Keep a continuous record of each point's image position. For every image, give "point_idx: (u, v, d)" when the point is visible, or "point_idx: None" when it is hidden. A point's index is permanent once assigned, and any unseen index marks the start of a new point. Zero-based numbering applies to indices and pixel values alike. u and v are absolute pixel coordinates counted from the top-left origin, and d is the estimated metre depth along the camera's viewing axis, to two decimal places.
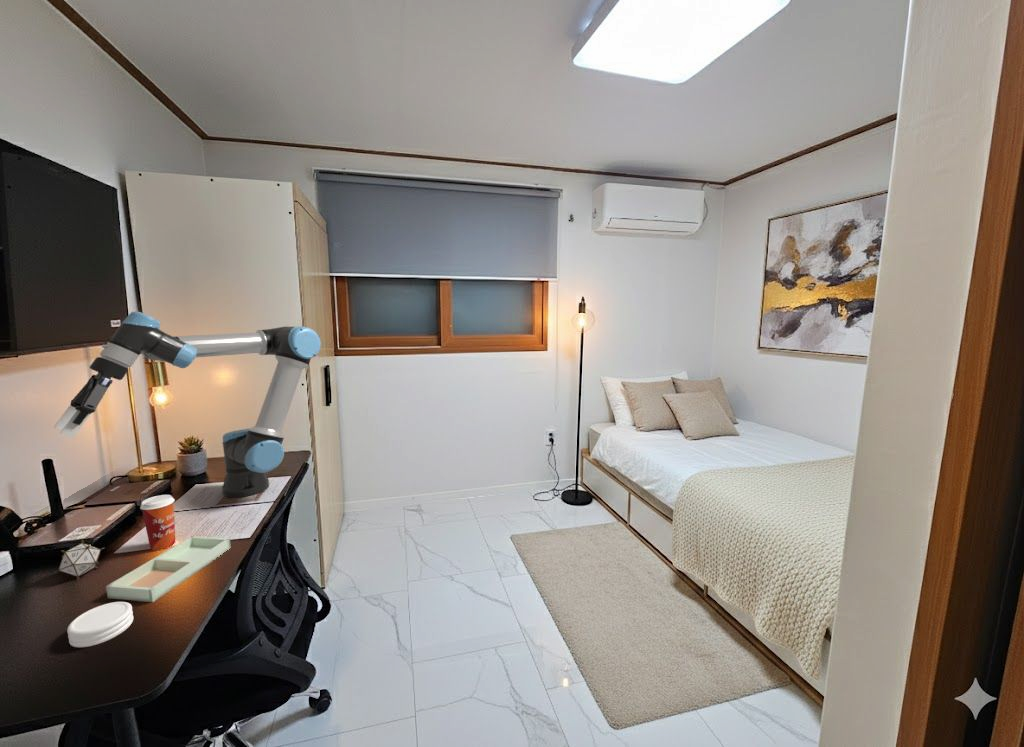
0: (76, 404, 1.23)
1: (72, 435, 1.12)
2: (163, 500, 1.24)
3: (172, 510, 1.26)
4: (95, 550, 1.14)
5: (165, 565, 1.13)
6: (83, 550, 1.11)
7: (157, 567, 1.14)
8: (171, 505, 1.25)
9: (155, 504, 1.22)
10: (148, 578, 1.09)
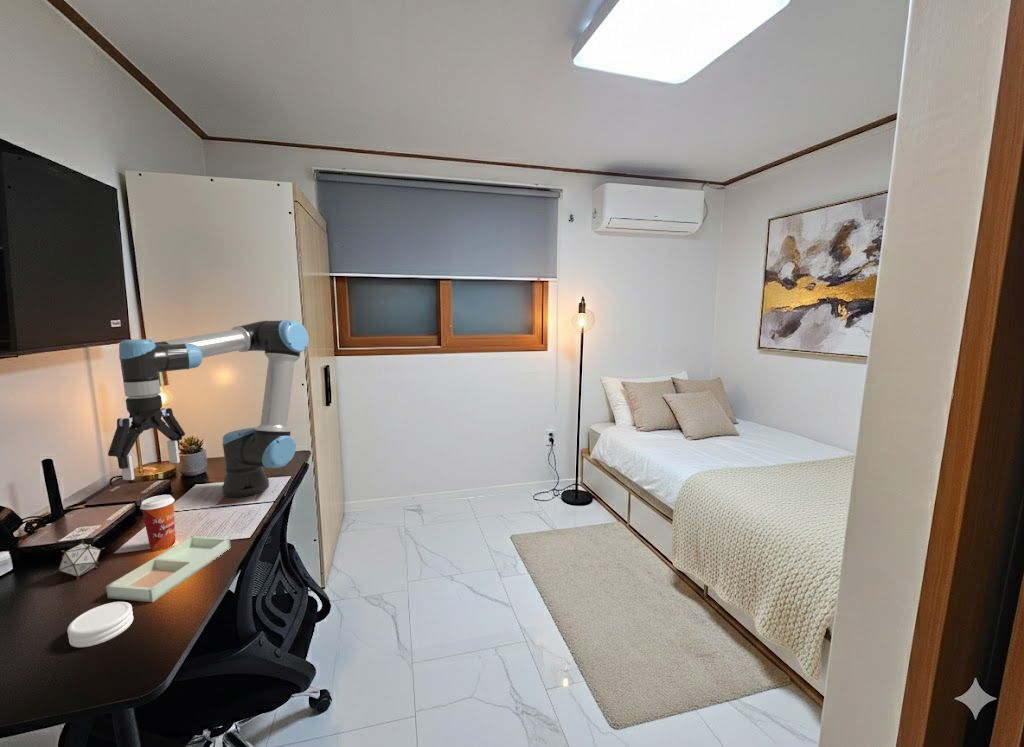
0: (172, 437, 1.30)
1: (130, 478, 1.16)
2: (163, 500, 1.24)
3: (172, 510, 1.26)
4: (95, 550, 1.14)
5: (165, 565, 1.13)
6: (83, 550, 1.11)
7: (157, 567, 1.14)
8: (171, 505, 1.25)
9: (155, 504, 1.22)
10: (148, 578, 1.09)
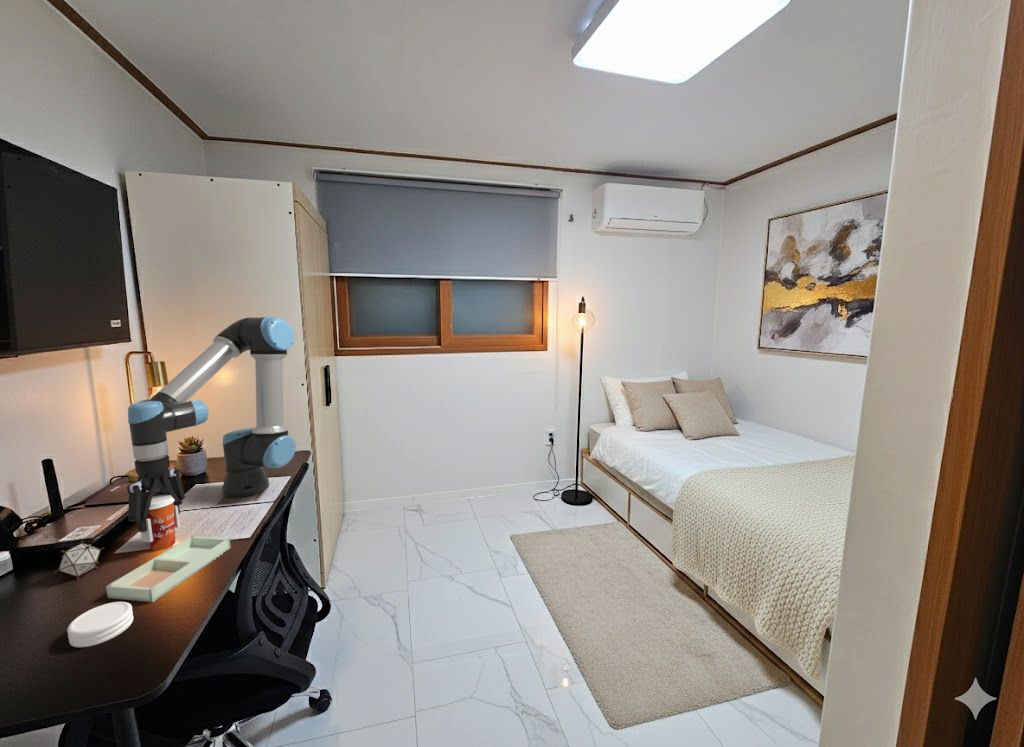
0: None
1: (149, 540, 1.21)
2: (163, 500, 1.24)
3: (172, 510, 1.26)
4: (95, 550, 1.14)
5: (165, 565, 1.13)
6: (83, 550, 1.11)
7: (157, 567, 1.14)
8: (171, 505, 1.25)
9: (155, 504, 1.22)
10: (148, 578, 1.09)
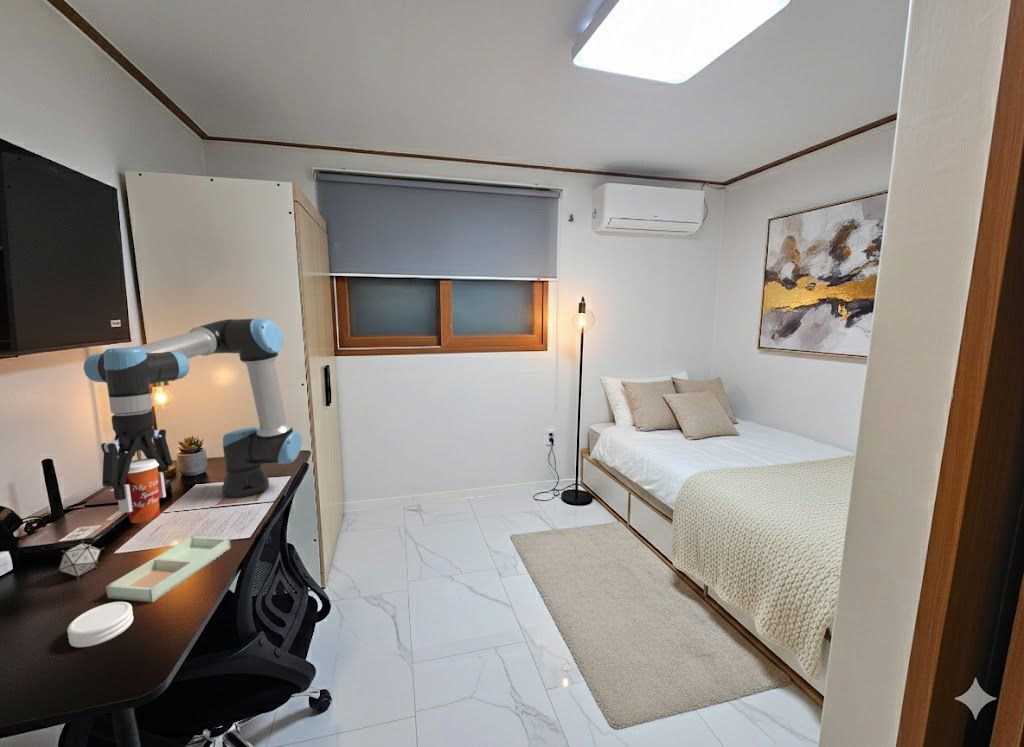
0: None
1: (127, 510, 1.03)
2: (145, 463, 1.05)
3: (156, 476, 1.07)
4: (95, 550, 1.14)
5: (165, 565, 1.13)
6: (83, 550, 1.11)
7: (157, 567, 1.14)
8: (154, 470, 1.07)
9: (135, 467, 1.03)
10: (148, 578, 1.09)
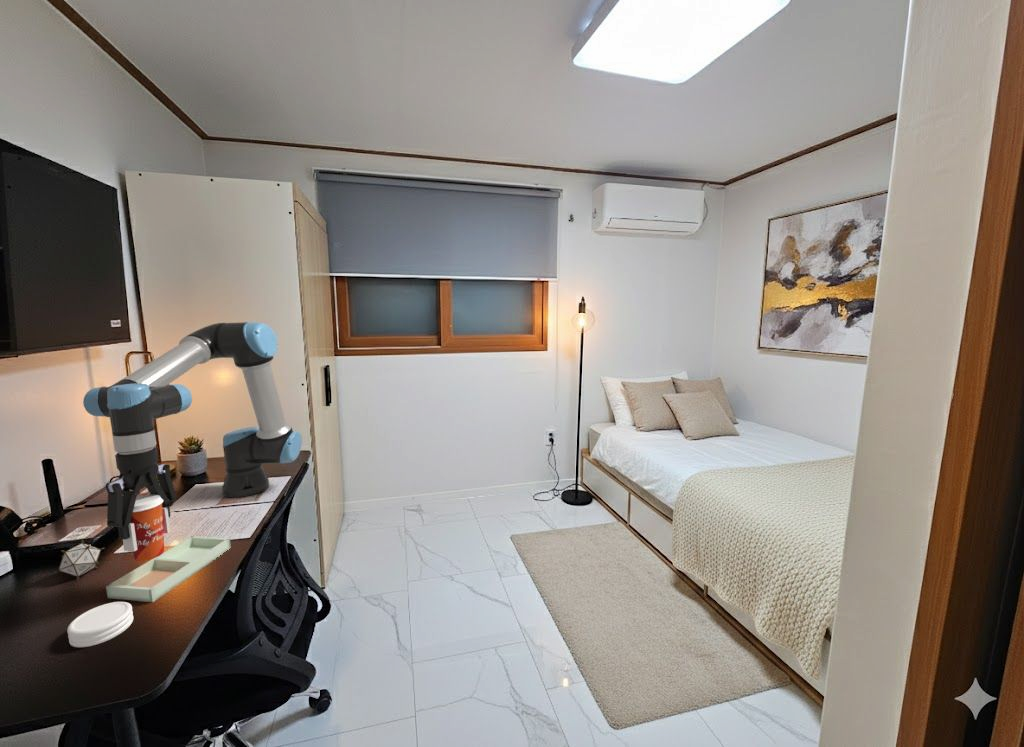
0: None
1: (132, 549, 1.02)
2: (149, 501, 1.04)
3: (160, 513, 1.06)
4: (95, 550, 1.14)
5: (165, 565, 1.13)
6: (83, 550, 1.11)
7: (157, 567, 1.14)
8: (159, 507, 1.06)
9: (140, 505, 1.02)
10: (148, 578, 1.09)
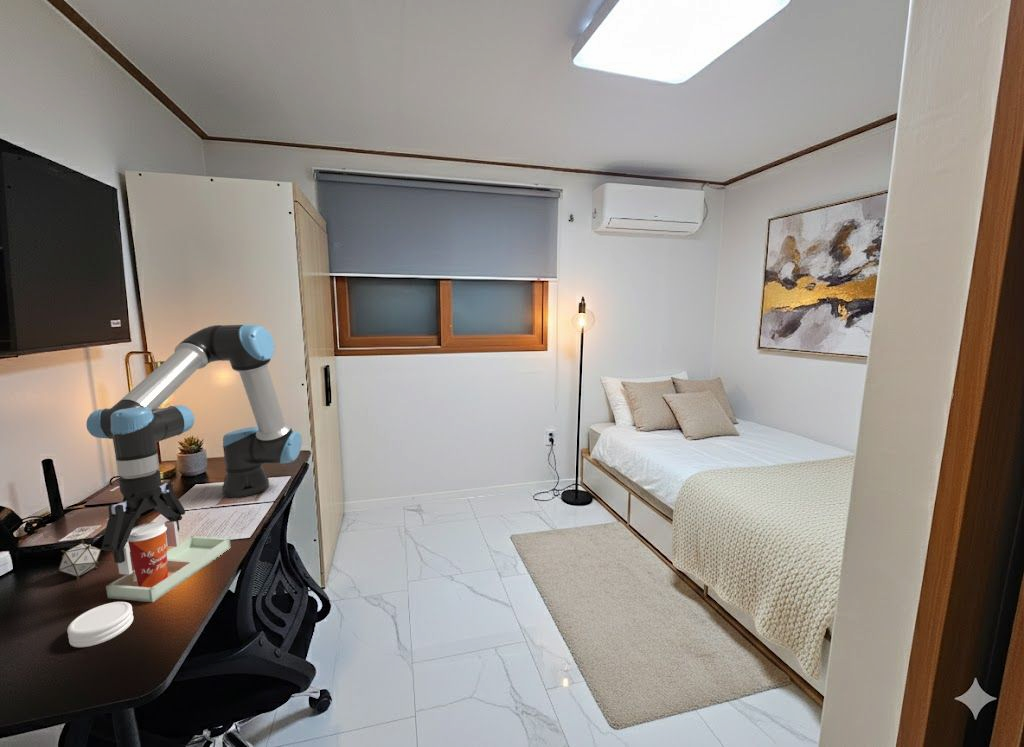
0: (170, 517, 1.13)
1: (127, 572, 1.01)
2: (153, 529, 1.05)
3: (164, 540, 1.07)
4: (95, 550, 1.14)
5: None
6: (83, 550, 1.11)
7: None
8: (163, 535, 1.07)
9: (144, 534, 1.03)
10: None
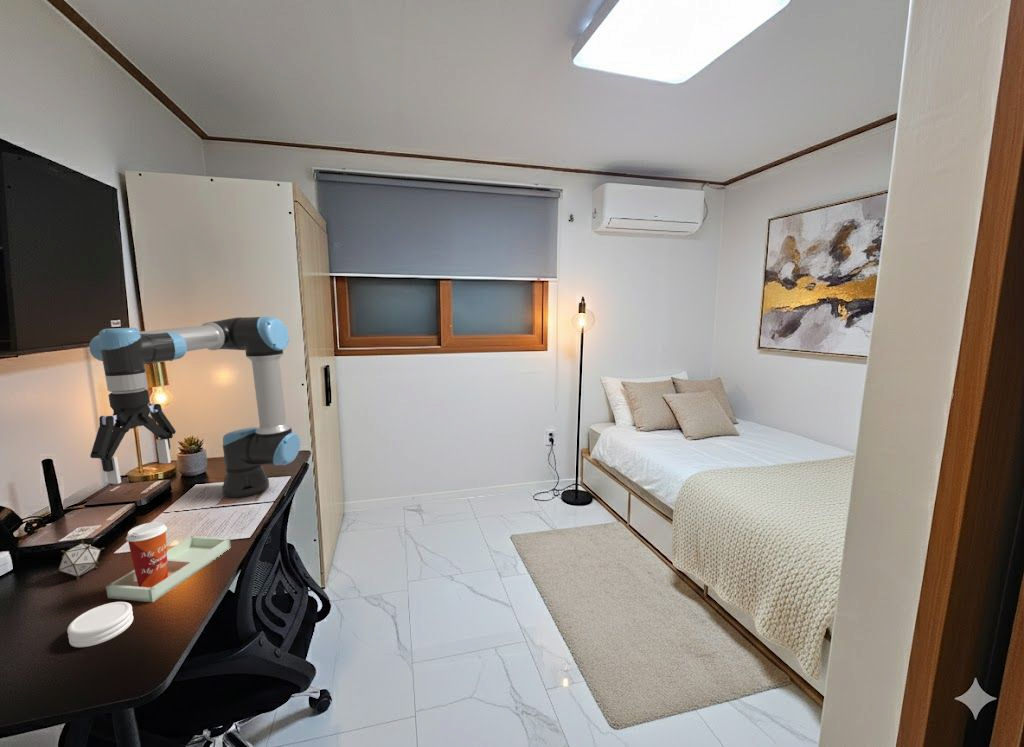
0: (161, 435, 1.18)
1: (116, 481, 1.05)
2: (153, 529, 1.05)
3: (164, 540, 1.07)
4: (95, 550, 1.14)
5: None
6: (83, 550, 1.11)
7: None
8: (163, 535, 1.07)
9: (144, 534, 1.03)
10: None
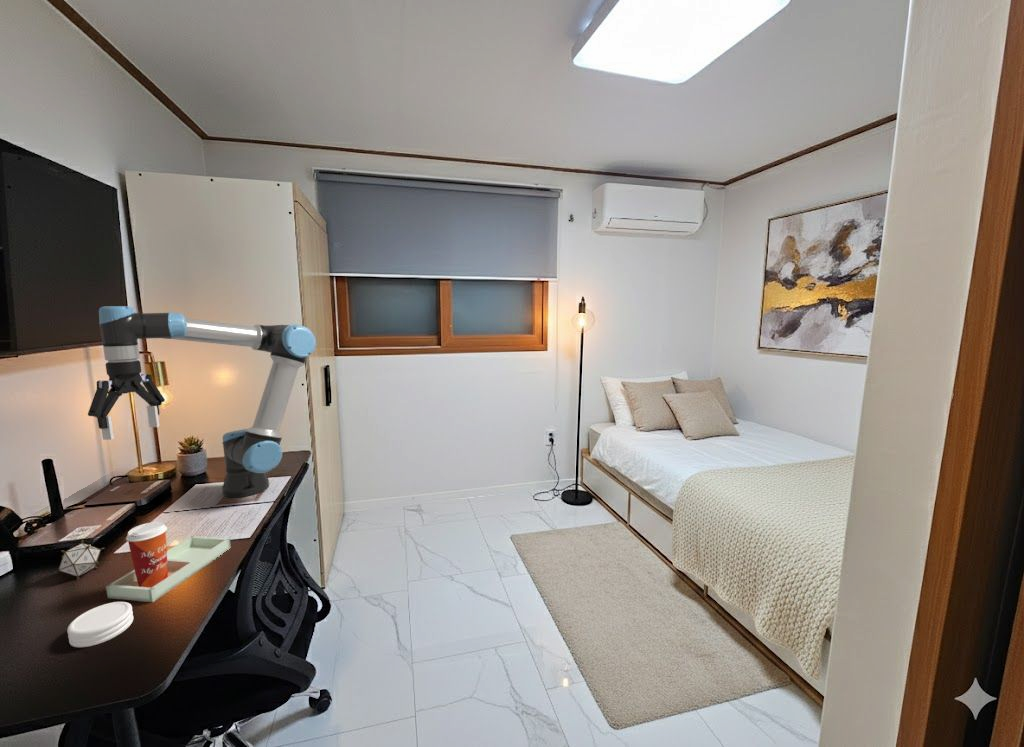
0: (152, 403, 1.35)
1: (109, 438, 1.21)
2: (153, 529, 1.05)
3: (164, 540, 1.07)
4: (95, 550, 1.14)
5: None
6: (83, 550, 1.11)
7: None
8: (163, 535, 1.07)
9: (144, 534, 1.03)
10: None
